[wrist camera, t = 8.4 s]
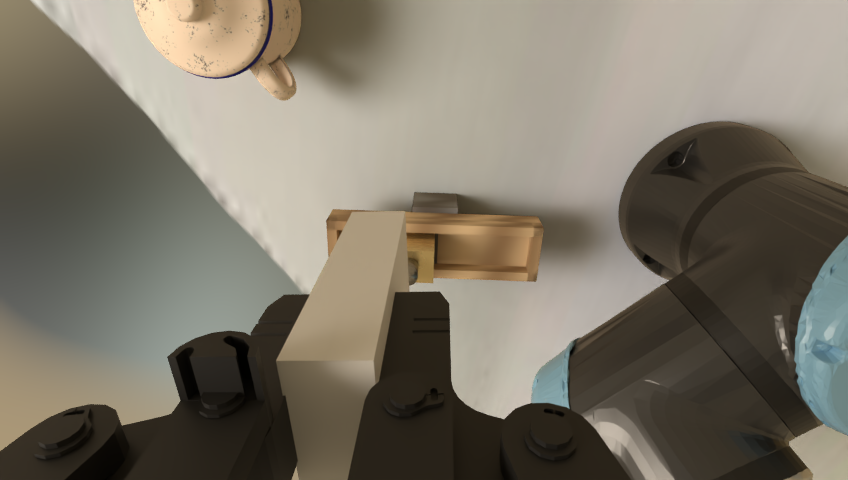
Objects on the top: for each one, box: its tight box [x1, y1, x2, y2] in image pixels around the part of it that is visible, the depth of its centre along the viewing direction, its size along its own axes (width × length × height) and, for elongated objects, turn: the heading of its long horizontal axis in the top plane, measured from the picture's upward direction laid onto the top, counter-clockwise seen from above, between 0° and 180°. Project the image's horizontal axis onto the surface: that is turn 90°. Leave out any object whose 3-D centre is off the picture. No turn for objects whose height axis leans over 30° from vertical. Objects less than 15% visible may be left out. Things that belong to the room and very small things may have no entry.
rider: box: [406, 232, 435, 285], centre depth 38 cm, size 4×3×6 cm
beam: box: [326, 192, 544, 282], centre depth 43 cm, size 18×6×7 cm, turn 88°
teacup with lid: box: [134, 0, 301, 100], centre depth 34 cm, size 12×9×12 cm
